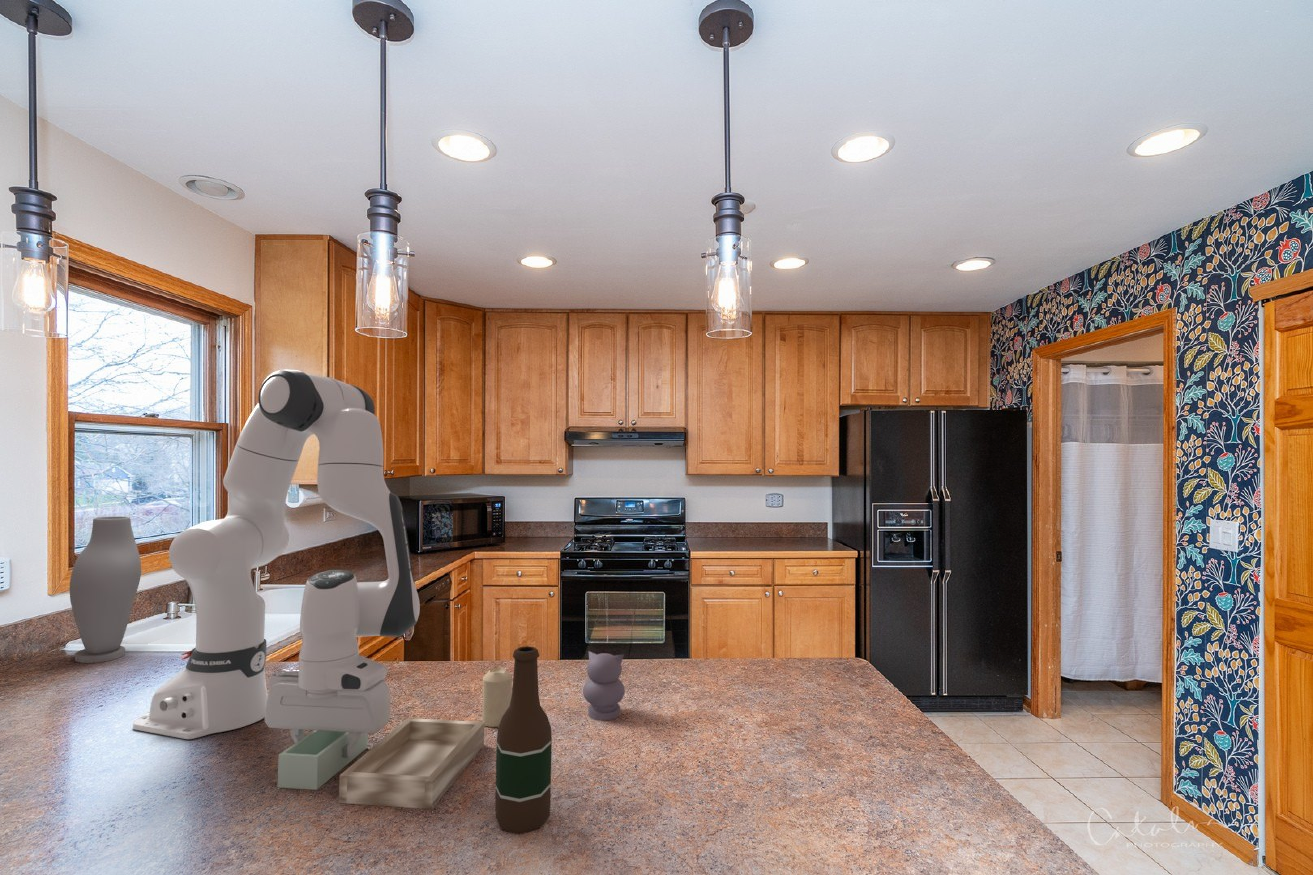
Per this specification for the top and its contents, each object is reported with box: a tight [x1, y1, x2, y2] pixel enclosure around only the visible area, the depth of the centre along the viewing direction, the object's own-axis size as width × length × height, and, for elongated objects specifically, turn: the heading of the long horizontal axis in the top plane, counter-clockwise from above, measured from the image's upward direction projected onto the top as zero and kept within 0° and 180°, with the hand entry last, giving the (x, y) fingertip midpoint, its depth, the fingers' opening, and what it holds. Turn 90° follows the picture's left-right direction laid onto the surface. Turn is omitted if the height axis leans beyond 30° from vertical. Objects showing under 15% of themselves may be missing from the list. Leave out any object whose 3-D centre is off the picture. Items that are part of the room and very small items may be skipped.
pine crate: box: [338, 717, 485, 810], centre depth 101 cm, size 14×20×4 cm
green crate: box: [277, 730, 369, 791], centre depth 102 cm, size 6×14×5 cm, turn 175°
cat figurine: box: [582, 651, 626, 722], centre depth 125 cm, size 8×8×12 cm
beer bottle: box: [494, 645, 553, 835], centre depth 89 cm, size 8×8×24 cm
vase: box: [68, 515, 142, 664], centre depth 156 cm, size 13×13×35 cm
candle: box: [481, 667, 513, 728], centre depth 121 cm, size 6×6×10 cm
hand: (326, 755), depth 103 cm, fingers closed on green crate, 6 cm apart
